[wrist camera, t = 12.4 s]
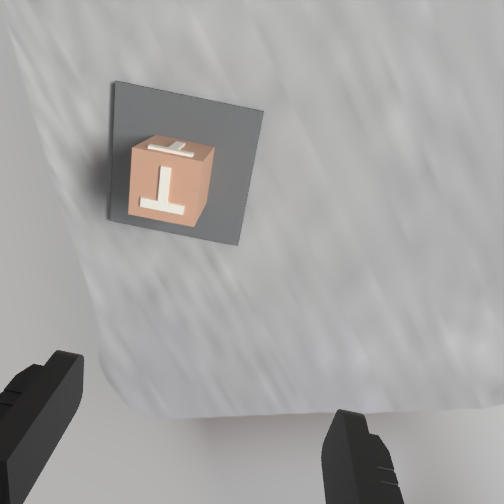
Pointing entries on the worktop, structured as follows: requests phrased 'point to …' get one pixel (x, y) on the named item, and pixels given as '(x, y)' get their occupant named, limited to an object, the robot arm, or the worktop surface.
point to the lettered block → (170, 179)
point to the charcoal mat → (193, 130)
